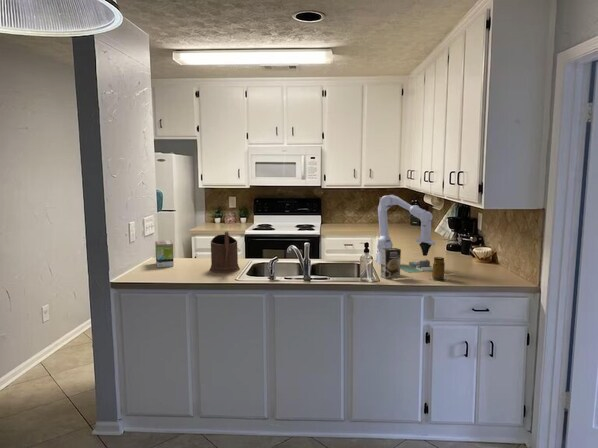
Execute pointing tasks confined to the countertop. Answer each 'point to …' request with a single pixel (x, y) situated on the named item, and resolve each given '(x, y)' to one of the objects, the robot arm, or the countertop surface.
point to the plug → (424, 263)
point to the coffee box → (390, 262)
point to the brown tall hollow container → (224, 254)
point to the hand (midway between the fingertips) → (425, 255)
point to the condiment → (438, 269)
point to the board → (416, 269)
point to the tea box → (164, 254)
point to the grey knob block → (414, 263)
